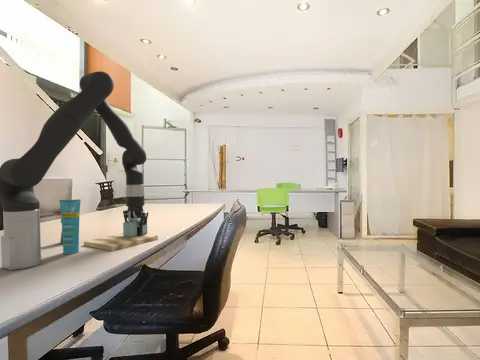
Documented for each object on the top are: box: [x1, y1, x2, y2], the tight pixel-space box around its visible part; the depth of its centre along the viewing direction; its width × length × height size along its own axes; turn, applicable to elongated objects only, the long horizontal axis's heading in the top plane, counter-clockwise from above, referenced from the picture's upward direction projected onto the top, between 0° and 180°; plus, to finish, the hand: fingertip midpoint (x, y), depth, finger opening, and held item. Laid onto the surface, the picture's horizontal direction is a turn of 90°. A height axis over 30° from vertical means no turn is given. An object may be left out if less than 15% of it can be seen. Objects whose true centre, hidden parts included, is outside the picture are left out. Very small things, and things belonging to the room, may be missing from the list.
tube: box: [58, 198, 82, 255], centre depth 109 cm, size 7×5×19 cm, turn 98°
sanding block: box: [122, 220, 148, 238], centre depth 131 cm, size 9×4×6 cm, turn 149°
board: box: [83, 232, 159, 252], centre depth 125 cm, size 22×18×2 cm
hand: (135, 234), depth 131 cm, fingers closed on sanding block, 4 cm apart
